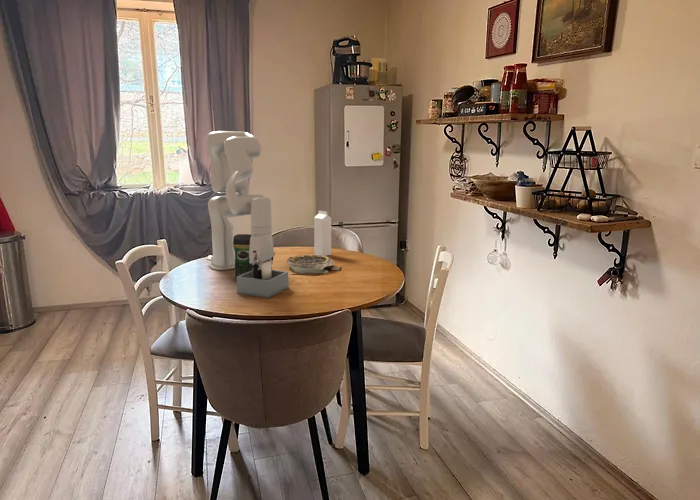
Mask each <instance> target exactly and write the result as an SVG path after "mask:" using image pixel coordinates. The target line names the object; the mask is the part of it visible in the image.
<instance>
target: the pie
mask: <svg viewBox="0 0 700 500" xmlns="http://www.w3.org/2000/svg"><path fill="white" fill-rule="evenodd" d="M334 262H335V261H334V259H333V258H331V256H325V255H314V254H301V255H295V256H294V255H293V256H289V257H288V258H286V263H287V265H288V266H289V267H290V270H291V271H292V273H296V274H302V275H303V276H308V275H309V274H317V276H319V275H321V274H327V273H329V271H328V270H327V269H324V268H326V267H327V268H329V267H330V268H329V269H330V270H331V271H340V270H341V269H342V267H341V268H340V267H335V265H334V264H335V263H334Z"/></svg>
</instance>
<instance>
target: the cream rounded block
mask: <svg viewBox="0 0 700 500" xmlns="http://www.w3.org/2000/svg"><path fill="white" fill-rule="evenodd" d="M257 261H259V260H257ZM256 264H257V265H258V264H259V263H256ZM261 270H262V279H263V280H270V279H272V270H273V265H272V266H271V261H269V260H266V261H263V262H262V264H261Z"/></svg>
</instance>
